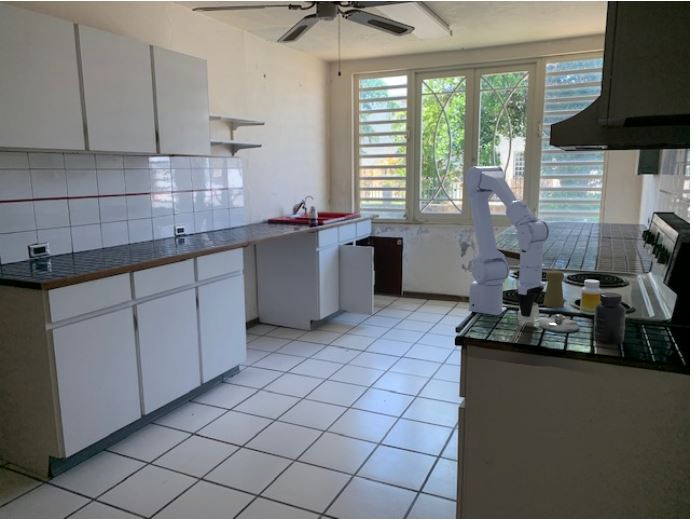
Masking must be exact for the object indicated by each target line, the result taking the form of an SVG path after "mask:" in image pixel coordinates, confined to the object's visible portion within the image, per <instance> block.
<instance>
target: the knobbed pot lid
mask: <svg viewBox="0 0 694 521" xmlns="http://www.w3.org/2000/svg"><path fill="white" fill-rule="evenodd" d="M538 327H539V328H541V329H543V330H546V331H549V332H554V333H573V332H577V331H578V330H579V323H578V322H577V321H575V320H573V319H569V318H566V316H564V315H563V314H561V313H560V314H559V313H557V314H554V317H553V316H551V317H544V318H540V319H538Z"/></svg>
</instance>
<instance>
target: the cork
mask: <svg viewBox="0 0 694 521" xmlns="http://www.w3.org/2000/svg"><path fill="white" fill-rule="evenodd" d="M545 278H546V281H547V282H546V288H545V294H544V300H543V304H544V305H543V306H545V305H546V306H545V307H547V308H548V307H549V308H554V309H556V308H558V309H560V308H563V307H565V303H564V291H563V290H564V289H563V281H564V279H565V275H564V272H563V271H561V270H549V271H547V273H546V275H545Z"/></svg>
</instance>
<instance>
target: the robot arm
mask: <svg viewBox="0 0 694 521" xmlns="http://www.w3.org/2000/svg"><path fill="white" fill-rule="evenodd" d="M506 177H507V176H506V172H505V171H504V170H503V168H502V166H500V165H488V166H471V167H470V168H468V170H467V172H466V175H465V185H466V190H467V196H468V198H469V204H470V210H471V215H472V221H473V225H474V226H473V228H474V231H475V238H476V243H477V249H478V253H476V255H475V257H473V259H472V276H473V279H474V280H473V281H471V284H470V286H469V301H468V302H469V304H468V305H469V306H468V309H467V311H468V312H472V313H473V312H474V313H480V314H487V315H494V316H500V315H501V314H502V313H504V312H505V311H506V310H507V306H506V307H505V306H503V294H504V292H503V290H504V289H503V288H504V287H503V286H504V283H506V280H507V279H508V278H509V275H510V266H509V263H508V262H507V260H506V256H505V254H504V253H502V252H501V251H500V250H499V249H498V248H497V247H498V246H497V242H496V237H495V232H494V227H493V225H494V224H493V221H492V214H491V209H490V204H489V198H490V197H491V196H492V195H493V194H495V195H496V197H497V198H498V199H499V200H500V201H501V203H502V204H503V205H504V206H505V207H506V209H505V214H506V216H507V217H508V219H509V220H510V222H511V223H512V225H513V226H514V228H515V229H516V232H515V235H516V239H517V242H518V248H519V250H520V254H519V271H518V272H519V273H518V275H519V277H518V281H517V284H518V286H517V287H518V288H517V289H516V290H514V295H515V297H516V299H517V301H518V306H519V305H520V310H521V315H522V316H525V317H530V315H531V311H532V306H533V302H534V303H537V304H538V303H539V301H540V300H539V298H540V297H541V294H542V292H543V291H544V289H545V286H547V282H545V281H542V276H543V275H542V274H543V258H544V257H543V255H544V242H546V241H547V240H548V238H549V236H550V228H549V226H548V225H547V222H546V221H545V220H541V219H539V218H536V216H535V215H534V213H533V212H532V210H531V209H530V208H529V206H528V204H527V203H526V202H525V201H524V200H518V199H517V197H516V195H515V193H514V192H513V190H512V189H511V186H509V184H508V181H506ZM520 310H519V311H520Z"/></svg>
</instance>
